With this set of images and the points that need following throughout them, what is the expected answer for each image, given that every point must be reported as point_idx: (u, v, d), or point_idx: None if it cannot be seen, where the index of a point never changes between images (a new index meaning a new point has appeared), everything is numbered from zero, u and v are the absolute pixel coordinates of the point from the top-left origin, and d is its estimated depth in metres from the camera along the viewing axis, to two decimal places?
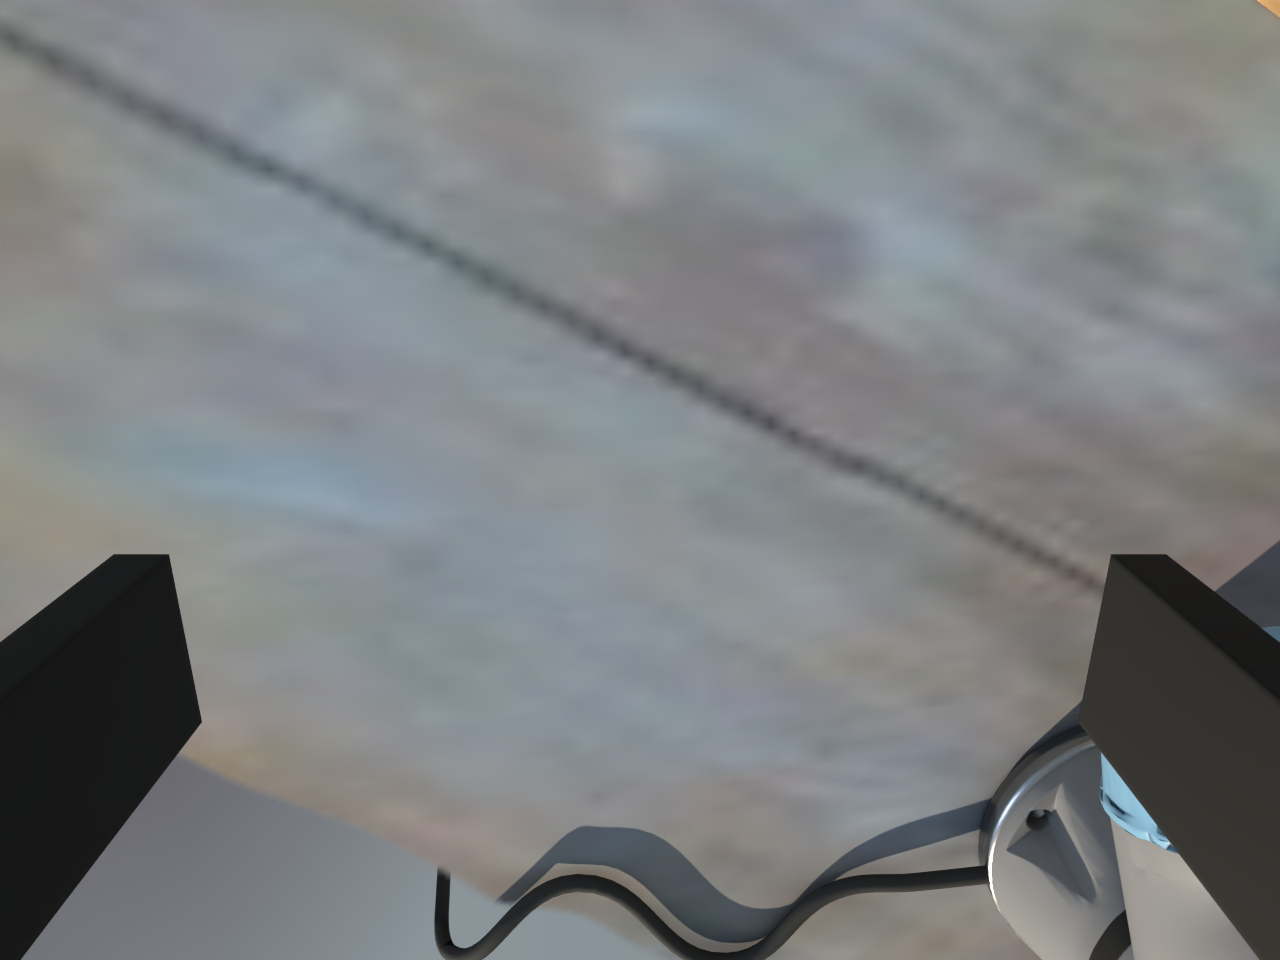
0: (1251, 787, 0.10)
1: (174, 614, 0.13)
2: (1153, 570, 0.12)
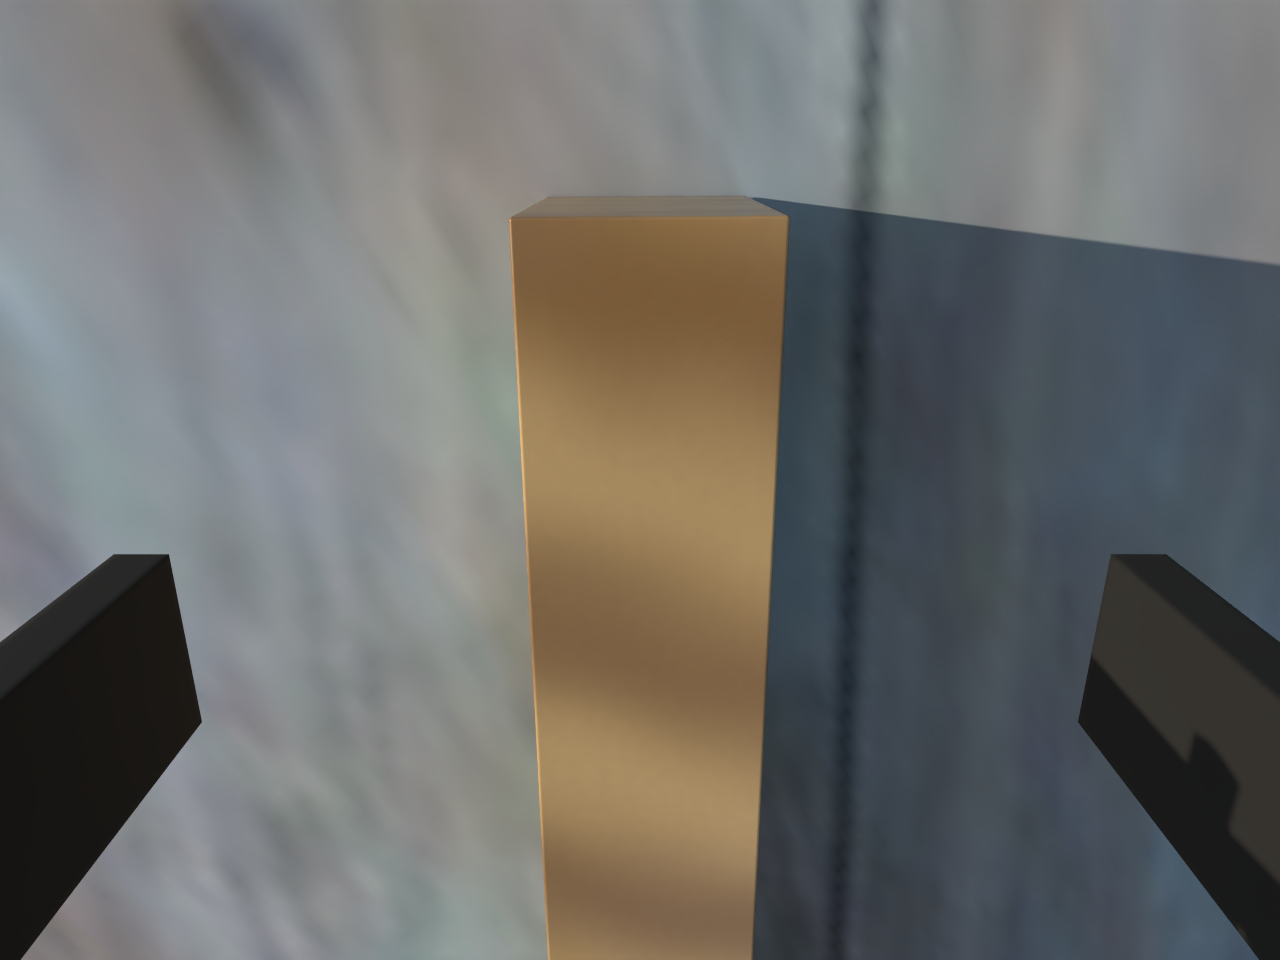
0: (1251, 787, 0.10)
1: (174, 615, 0.12)
2: (1153, 570, 0.12)
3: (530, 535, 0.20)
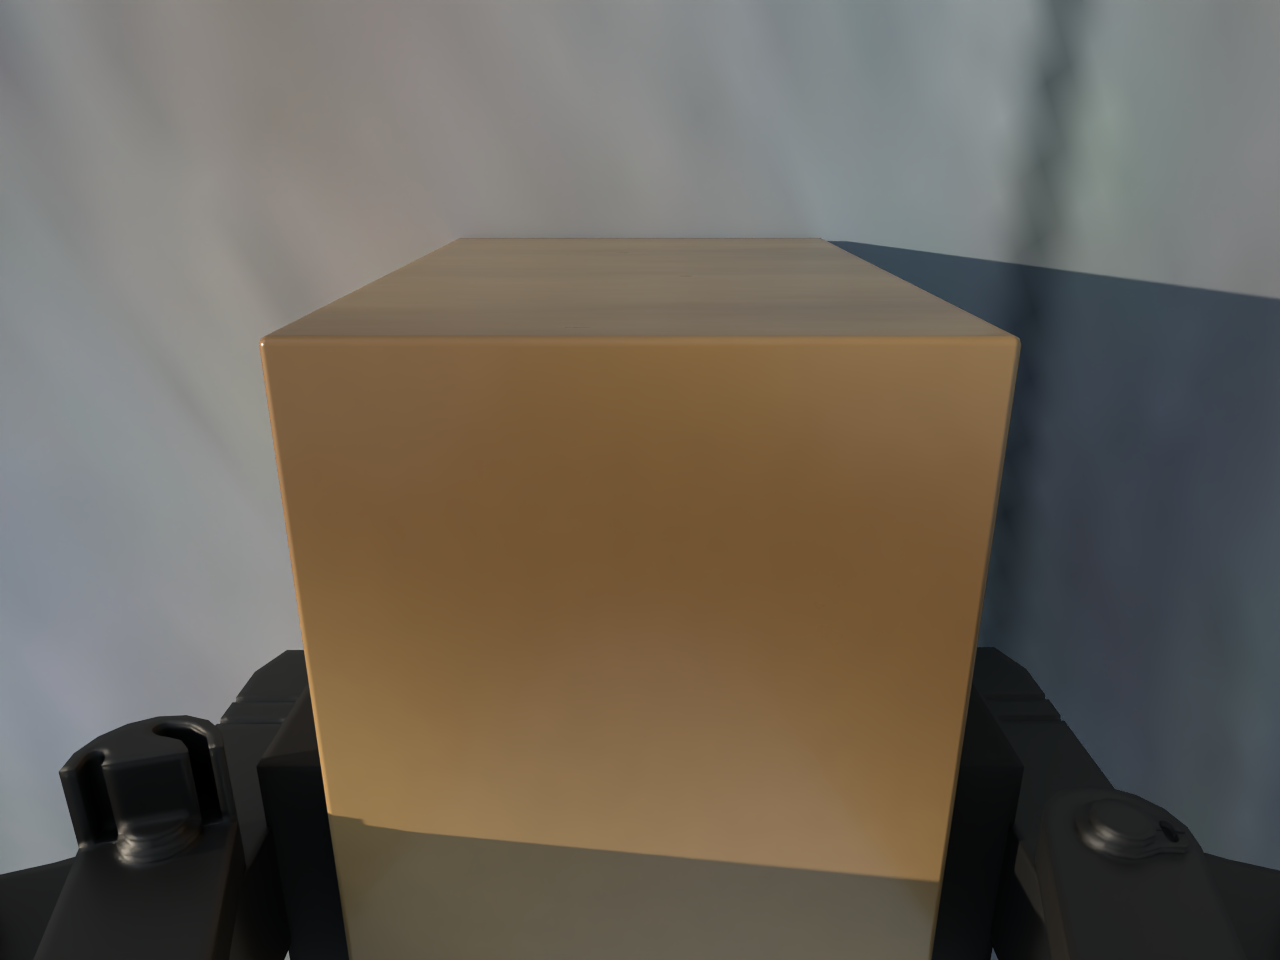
0: None
1: None
2: None
3: None
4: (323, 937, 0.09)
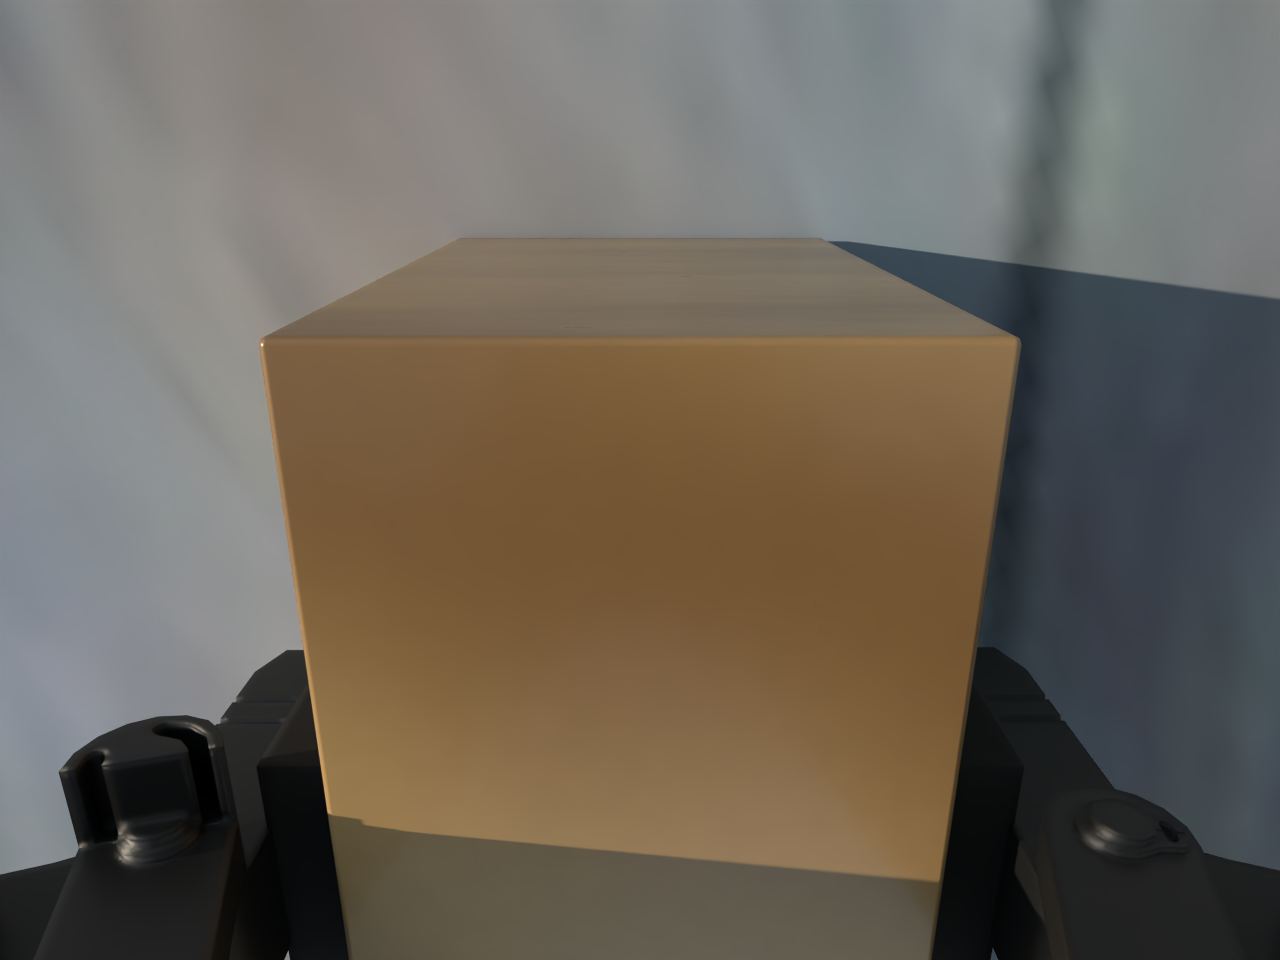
0: None
1: None
2: None
3: None
4: (323, 937, 0.09)
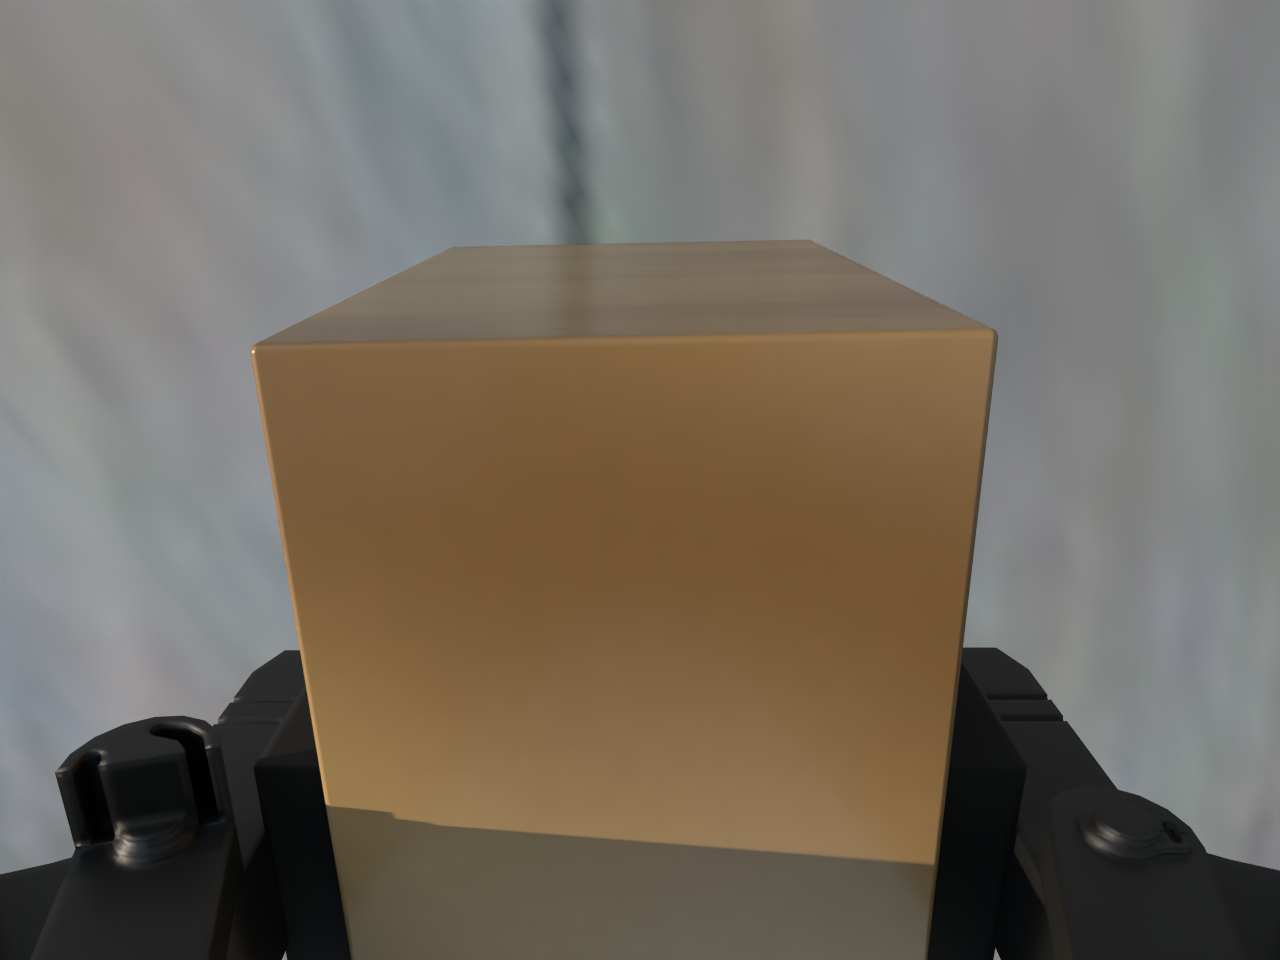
0: None
1: None
2: None
3: None
4: (320, 937, 0.09)
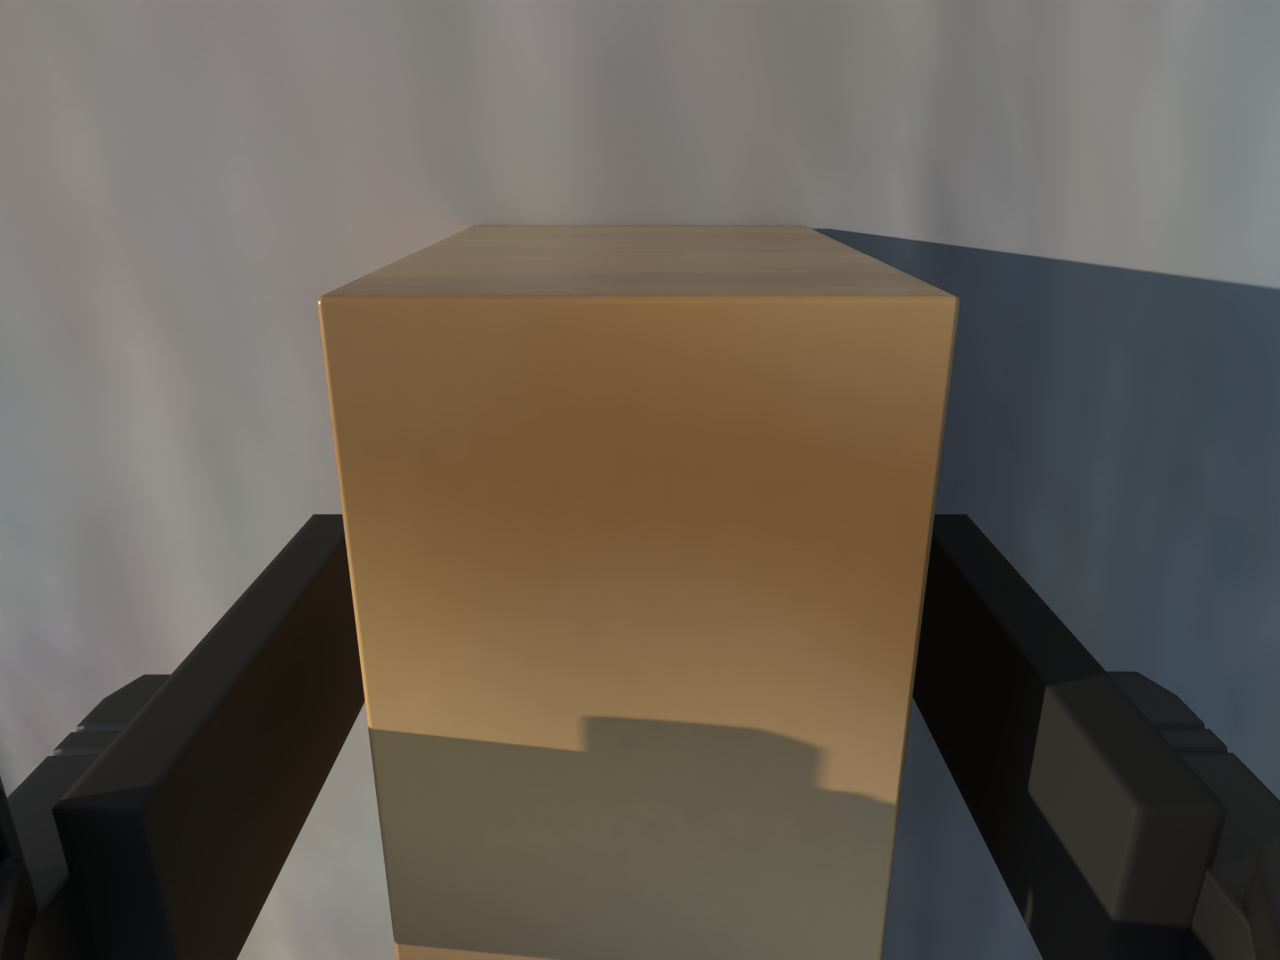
0: (989, 708, 0.11)
1: None
2: (948, 527, 0.13)
3: (399, 914, 0.10)
4: None
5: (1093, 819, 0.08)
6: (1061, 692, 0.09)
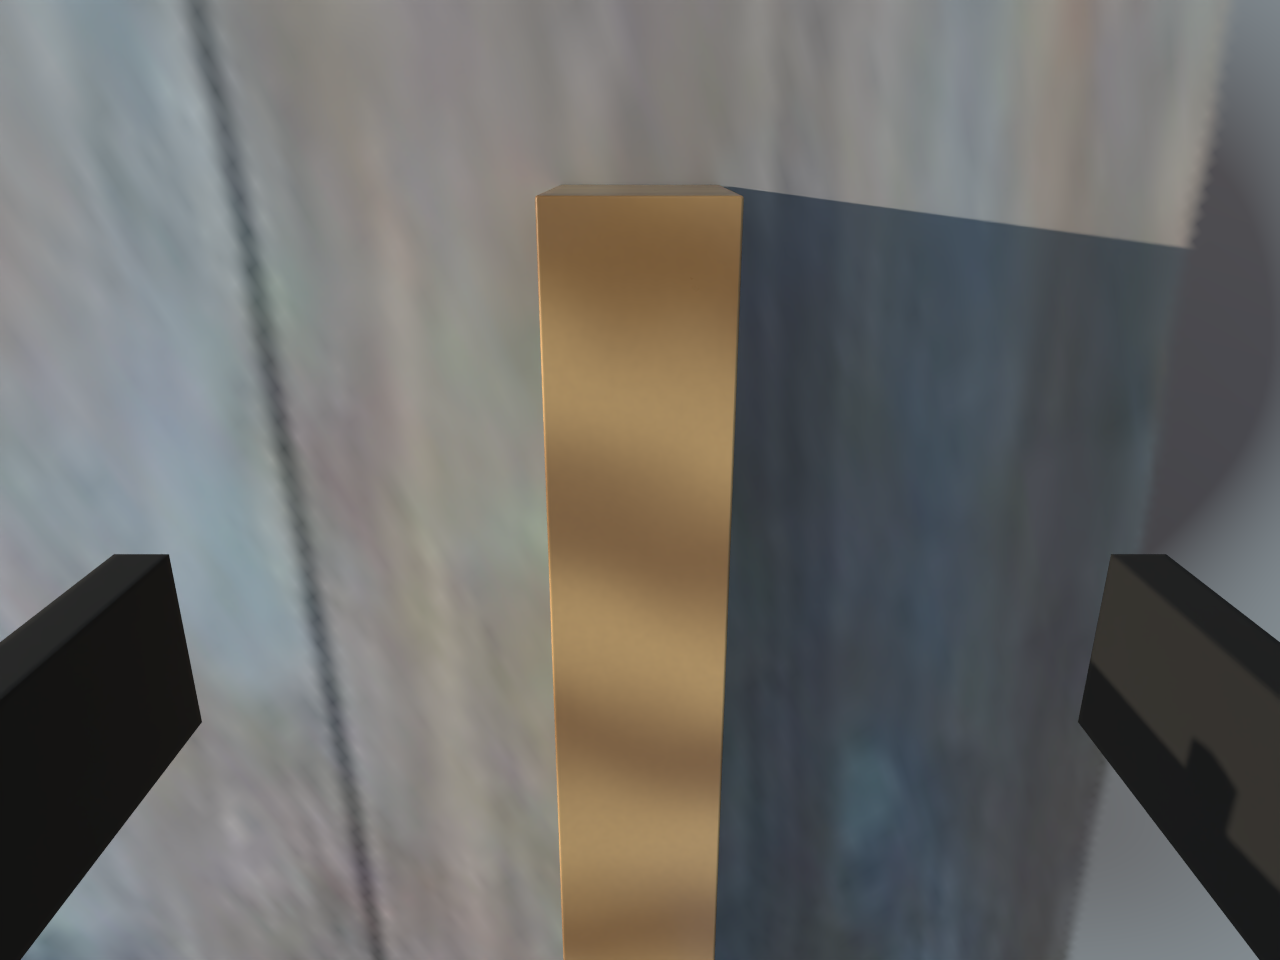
0: (1251, 787, 0.10)
1: (174, 615, 0.13)
2: (1153, 570, 0.12)
3: (548, 440, 0.26)
4: None
5: None
6: None
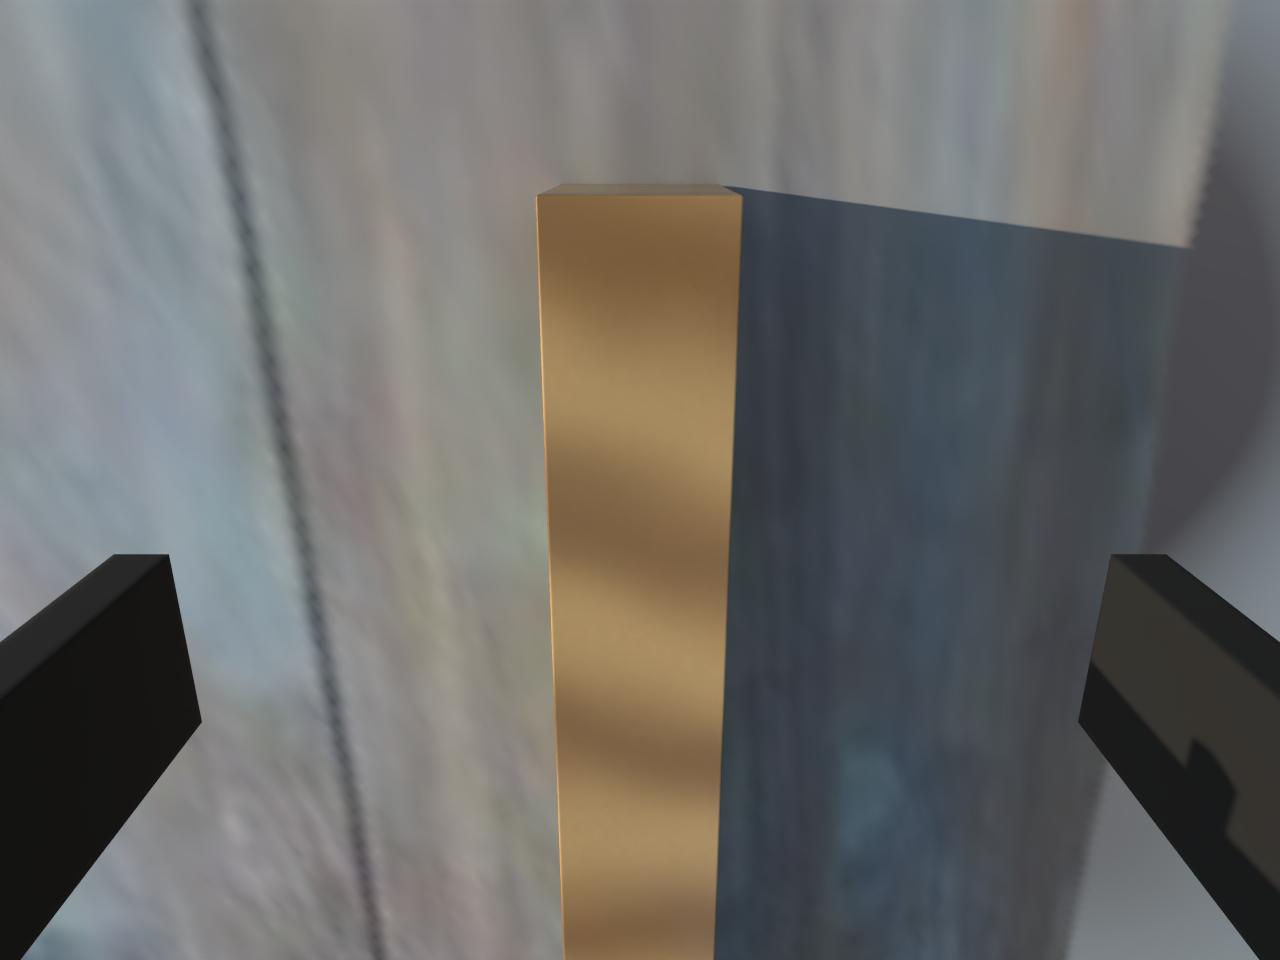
0: (1251, 787, 0.10)
1: (174, 614, 0.13)
2: (1153, 570, 0.12)
3: (548, 440, 0.26)
4: None
5: None
6: None
